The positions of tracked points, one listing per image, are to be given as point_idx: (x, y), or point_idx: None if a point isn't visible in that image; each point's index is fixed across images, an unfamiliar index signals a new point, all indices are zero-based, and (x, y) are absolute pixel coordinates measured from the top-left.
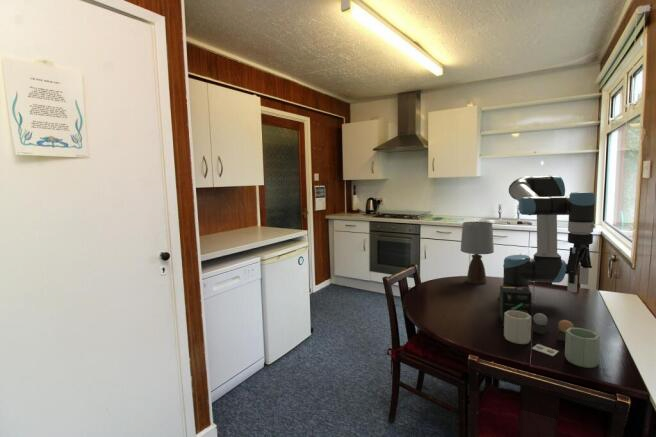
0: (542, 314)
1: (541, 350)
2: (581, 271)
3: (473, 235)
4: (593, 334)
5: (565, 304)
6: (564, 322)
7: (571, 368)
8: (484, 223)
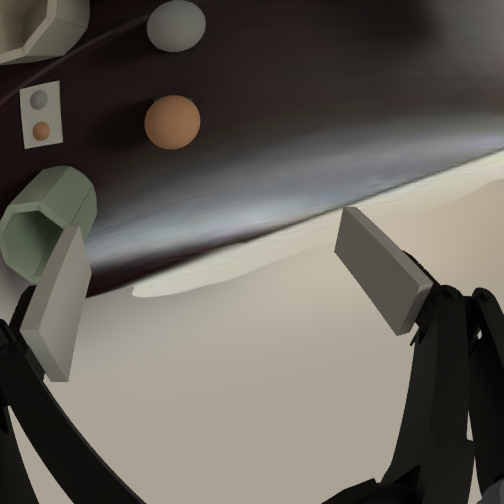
0: (175, 30)
1: (27, 112)
2: (394, 274)
3: None
4: None
5: (470, 66)
6: (155, 126)
7: None
8: None
